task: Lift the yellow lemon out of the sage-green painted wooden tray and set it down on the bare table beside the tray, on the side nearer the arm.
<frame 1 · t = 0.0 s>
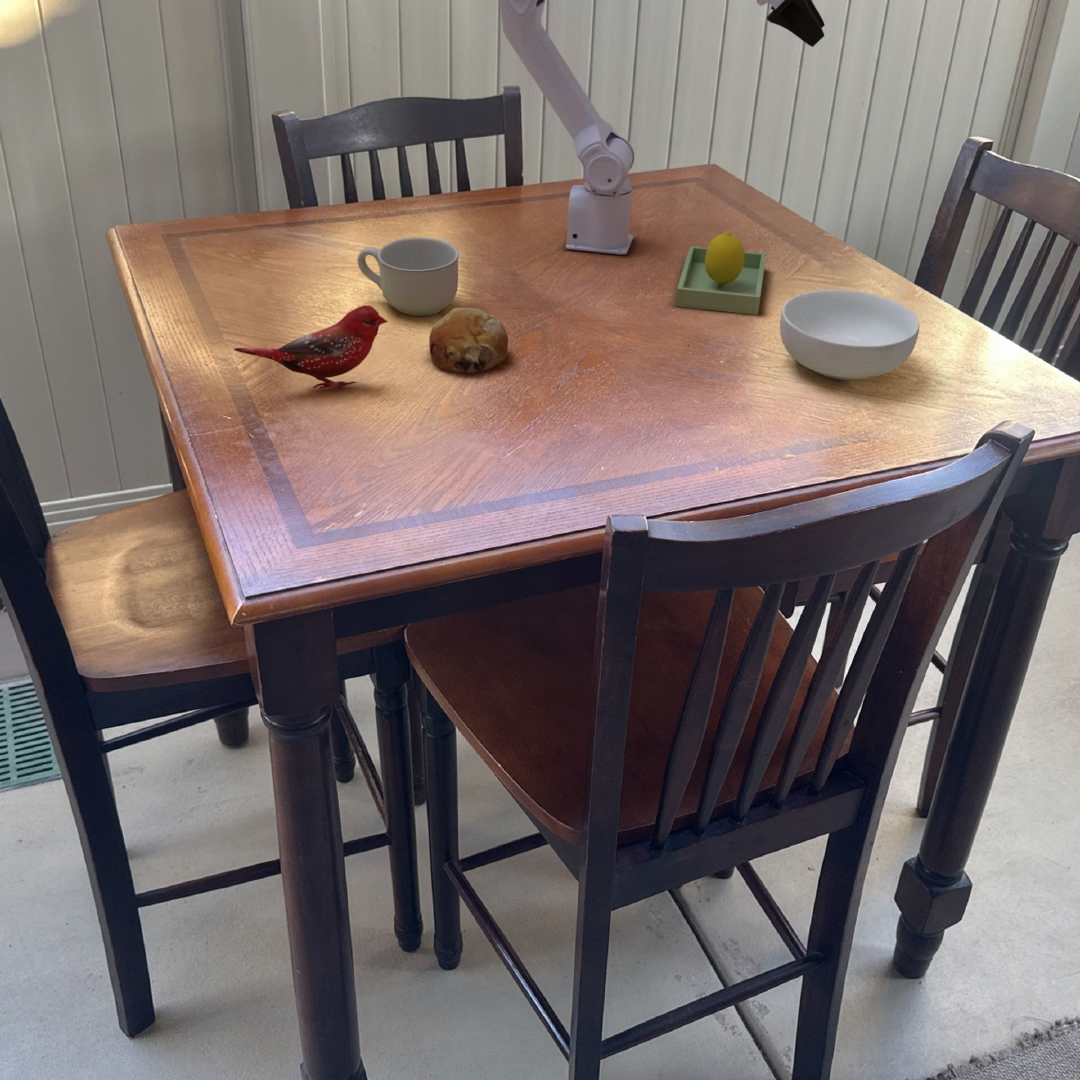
hand: (818, 35, 154), 32 cm above the table, tool tilted 50°, fingers open, 7 cm apart
bread roll: (468, 359, 142), on the table
tray: (721, 287, 164), on the table
decorative bird figurine: (317, 391, 134), on the table
lemon: (721, 287, 163), resting on tray
teacup: (410, 306, 155), on the table
cereal bowl: (840, 368, 143), on the table
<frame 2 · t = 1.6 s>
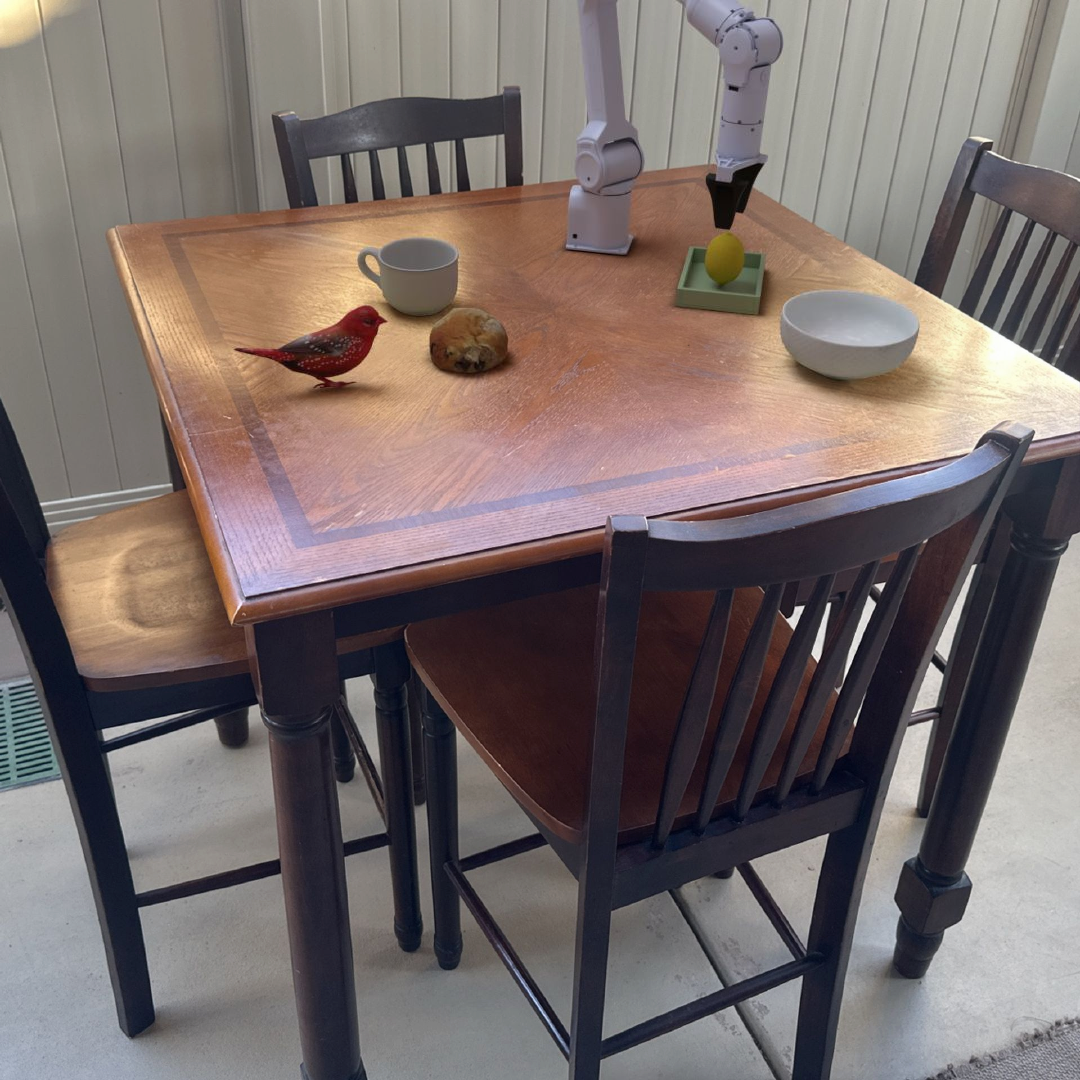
hand: (729, 220, 157), 10 cm above the table, tool pointing down, fingers open, 7 cm apart
nothing on the table moved.
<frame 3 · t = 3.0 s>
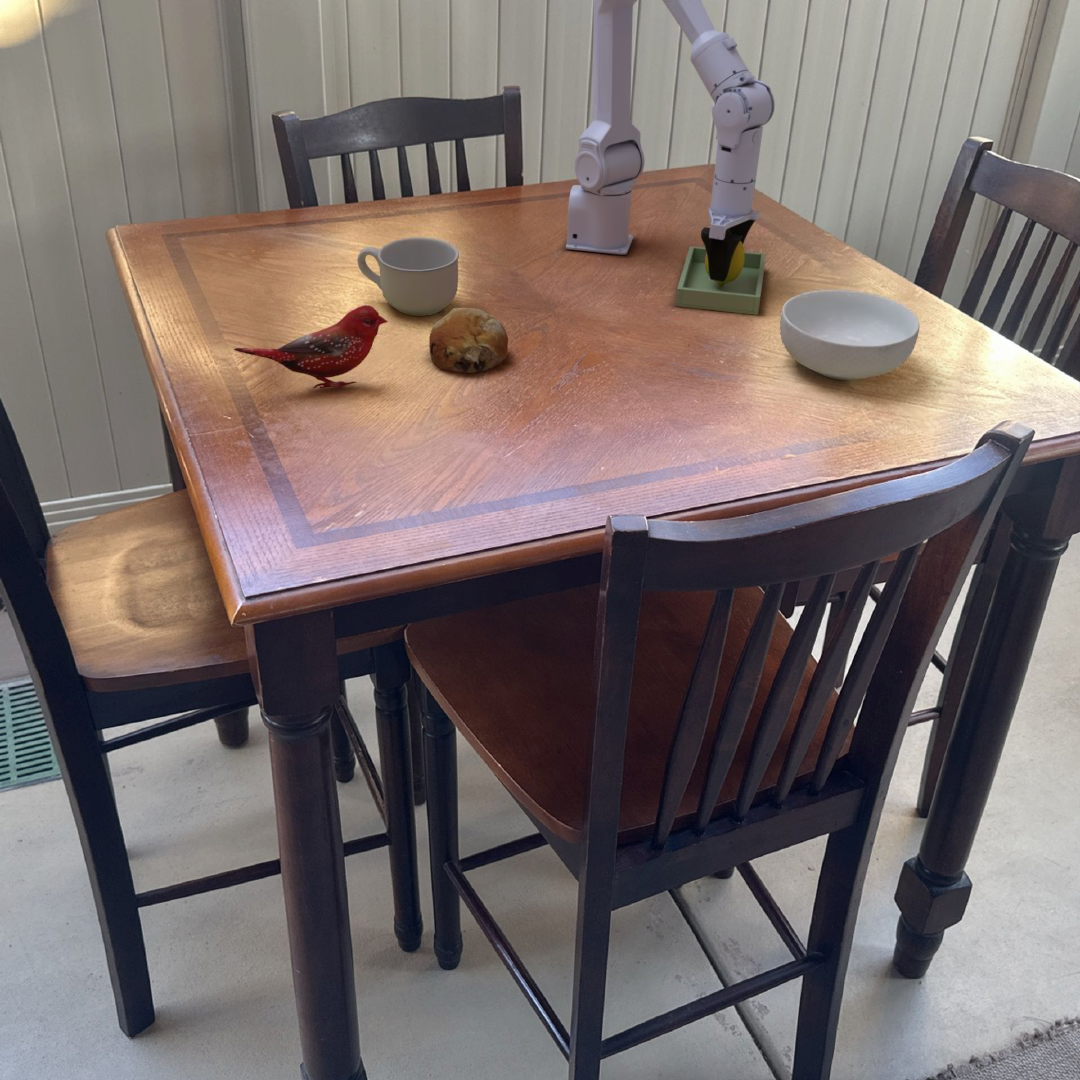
hand: (722, 272, 162), 2 cm above the table, tool pointing down, fingers closed on lemon, 5 cm apart
lemon: (721, 287, 163), resting on tray, touching gripper
everything else where it was.
when the fingers open (2 cm above the table, at t = 8.1 s): lemon stays where it is, on the table.
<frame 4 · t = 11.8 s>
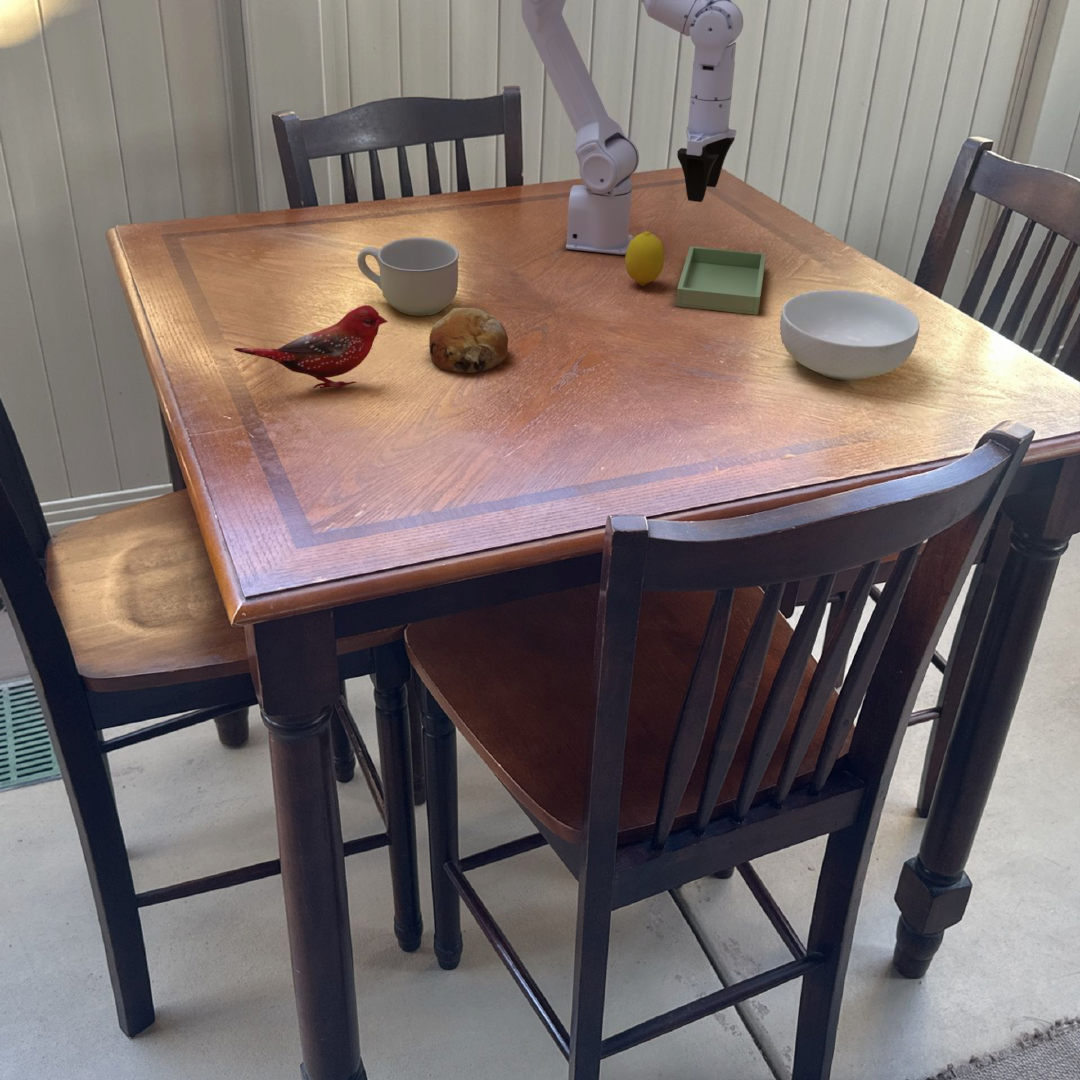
hand: (702, 193, 166), 10 cm above the table, tool pointing down, fingers open, 7 cm apart
lemon: (642, 286, 163), on the table
everything else where it was.
at the end: lemon inside the target area (0.0 cm from its centre), on the table; lemon touching table; the gripper is holding nothing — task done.
